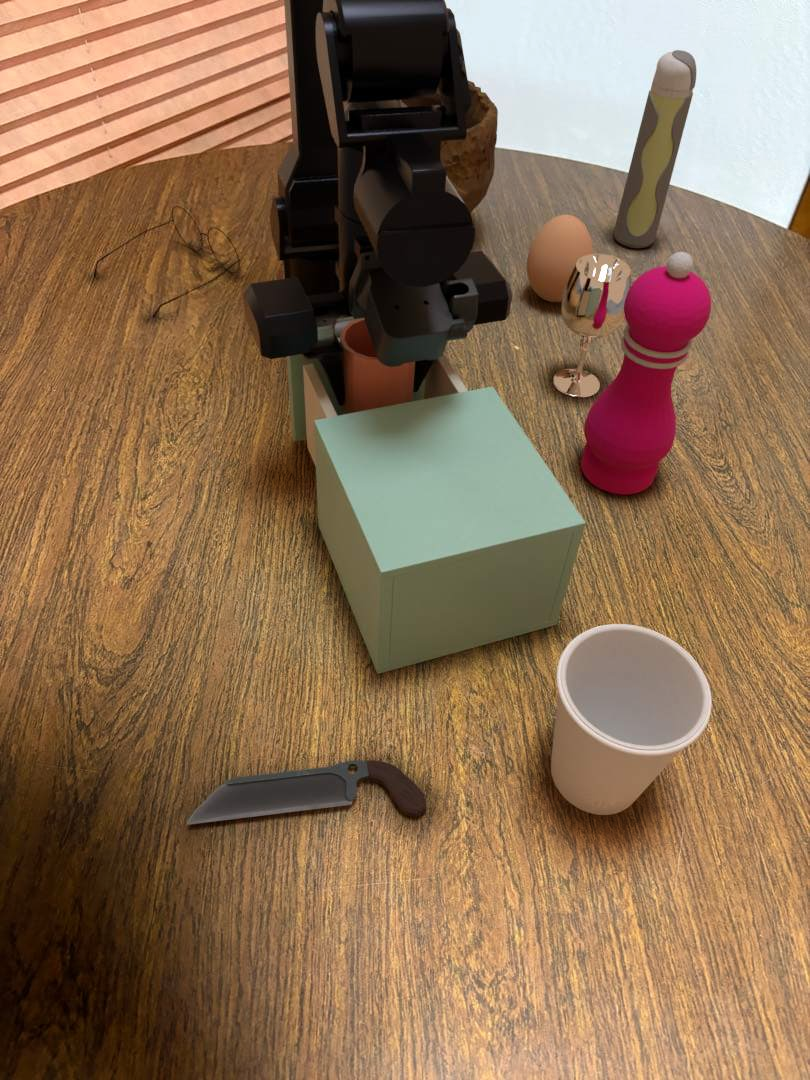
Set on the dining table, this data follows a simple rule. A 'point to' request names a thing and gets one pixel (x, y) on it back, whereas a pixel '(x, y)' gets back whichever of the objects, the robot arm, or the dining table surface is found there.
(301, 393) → the drawer
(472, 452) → the cabinet
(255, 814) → the knife
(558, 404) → the dining table surface
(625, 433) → the pepper mill
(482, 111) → the bowl
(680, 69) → the grey yellow cylinder
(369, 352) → the cup
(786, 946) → the dining table surface
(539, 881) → the dining table surface
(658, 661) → the dixie cup
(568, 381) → the wineglass
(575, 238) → the egg
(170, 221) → the eyeglasses
